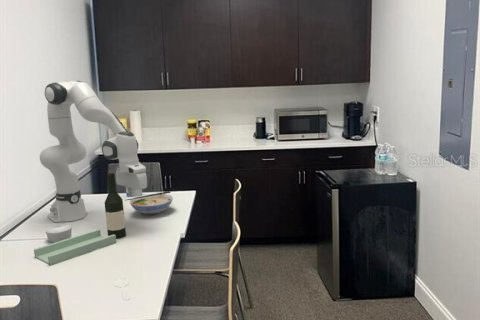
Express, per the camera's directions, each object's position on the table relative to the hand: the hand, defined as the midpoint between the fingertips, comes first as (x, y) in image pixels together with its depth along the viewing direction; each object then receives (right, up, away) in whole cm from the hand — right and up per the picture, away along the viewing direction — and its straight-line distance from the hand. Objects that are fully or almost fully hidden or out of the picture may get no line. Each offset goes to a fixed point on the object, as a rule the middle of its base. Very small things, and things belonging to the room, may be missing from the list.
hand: (132, 196), depth 220 cm
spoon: (+10, -28, -57) cm, 65 cm away
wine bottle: (-6, -18, -4) cm, 20 cm away
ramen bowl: (+4, -11, +30) cm, 32 cm away
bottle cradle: (-20, -22, -18) cm, 34 cm away
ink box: (-14, -5, +67) cm, 68 cm away
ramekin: (-32, -20, -4) cm, 38 cm away
